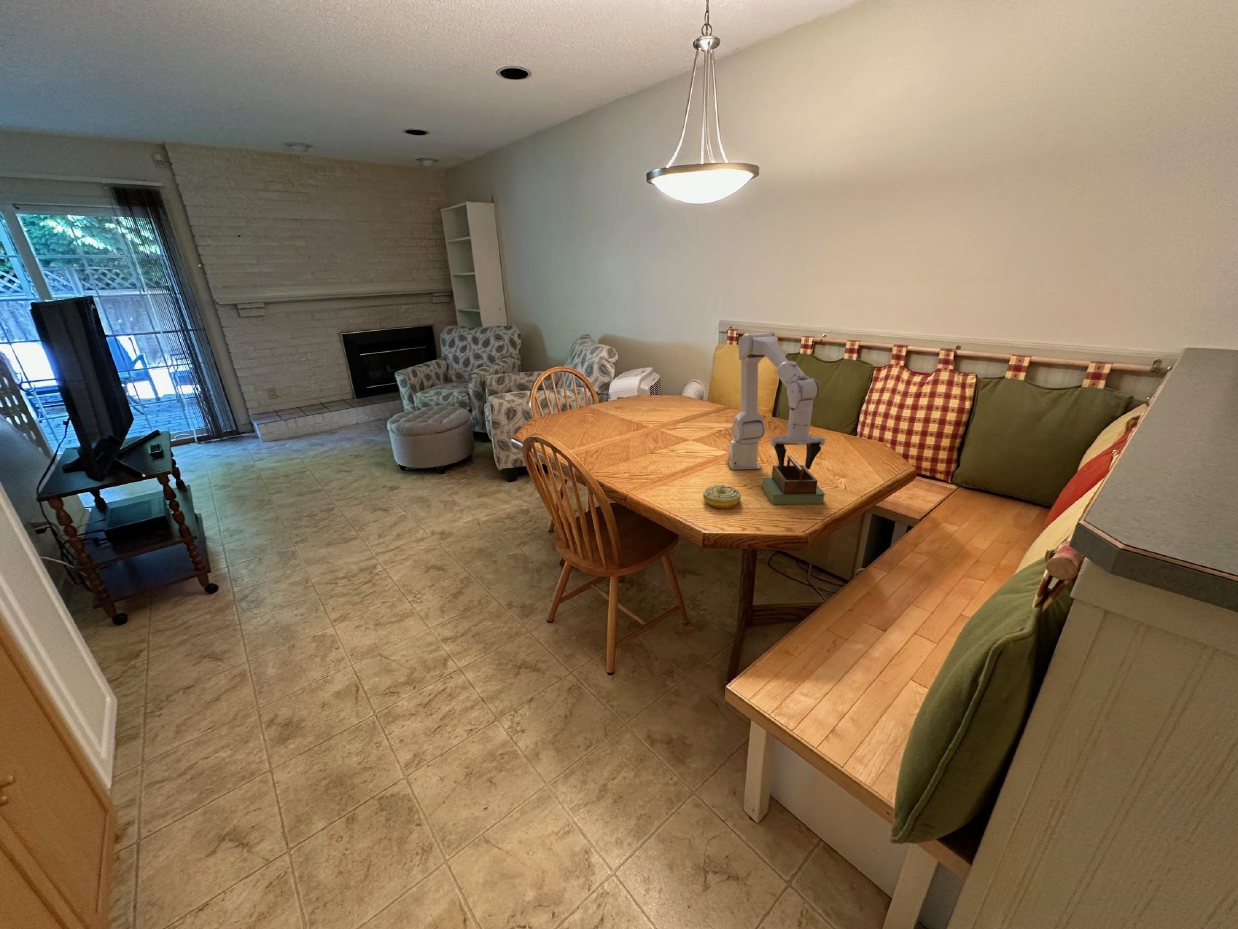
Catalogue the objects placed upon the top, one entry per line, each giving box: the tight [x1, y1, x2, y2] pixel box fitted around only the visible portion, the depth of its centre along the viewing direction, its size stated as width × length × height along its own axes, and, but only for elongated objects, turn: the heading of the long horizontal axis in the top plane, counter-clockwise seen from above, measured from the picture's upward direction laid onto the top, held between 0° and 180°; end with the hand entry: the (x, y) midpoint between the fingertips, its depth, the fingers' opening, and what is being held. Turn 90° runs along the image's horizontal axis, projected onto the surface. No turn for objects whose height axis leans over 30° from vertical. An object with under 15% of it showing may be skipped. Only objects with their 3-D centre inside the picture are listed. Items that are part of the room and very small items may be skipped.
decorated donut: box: [702, 484, 742, 509], centre depth 136 cm, size 10×11×4 cm
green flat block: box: [761, 476, 826, 505], centre depth 140 cm, size 14×12×3 cm
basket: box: [771, 454, 818, 494], centre depth 138 cm, size 9×12×7 cm
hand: (794, 468), depth 137 cm, fingers open, 7 cm apart
